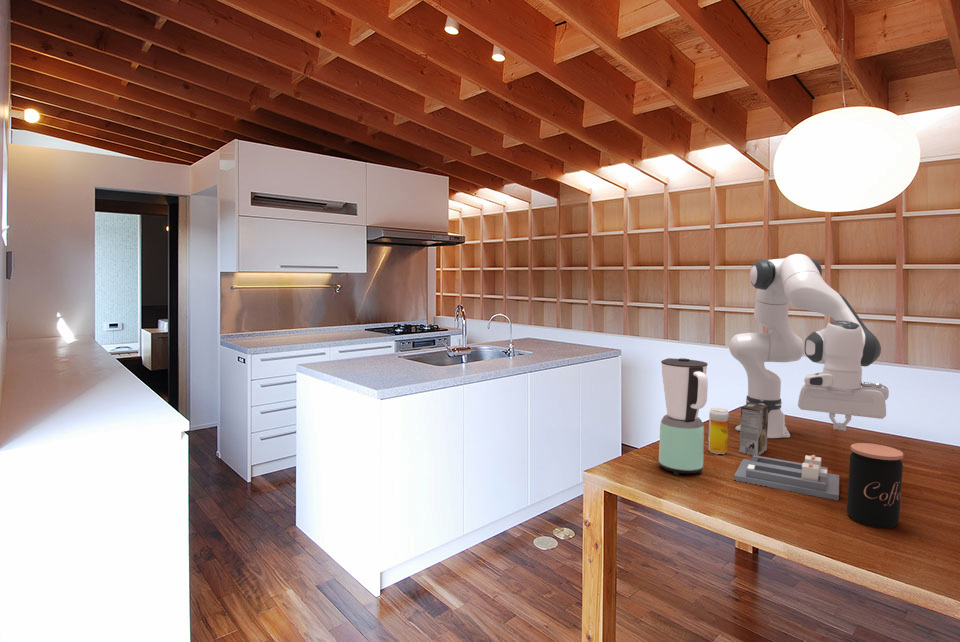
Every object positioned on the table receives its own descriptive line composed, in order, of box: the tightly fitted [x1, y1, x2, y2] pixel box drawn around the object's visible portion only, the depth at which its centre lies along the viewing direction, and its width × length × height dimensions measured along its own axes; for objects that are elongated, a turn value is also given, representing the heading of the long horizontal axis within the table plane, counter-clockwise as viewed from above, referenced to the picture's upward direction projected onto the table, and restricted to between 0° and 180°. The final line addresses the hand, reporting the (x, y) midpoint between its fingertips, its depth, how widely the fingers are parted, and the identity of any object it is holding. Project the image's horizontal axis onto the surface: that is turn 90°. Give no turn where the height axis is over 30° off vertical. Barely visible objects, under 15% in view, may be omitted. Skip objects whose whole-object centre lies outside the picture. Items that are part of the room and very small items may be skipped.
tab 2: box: [801, 462, 819, 481], centre depth 154 cm, size 4×4×6 cm
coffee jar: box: [846, 442, 904, 529], centre depth 135 cm, size 11×11×18 cm
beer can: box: [707, 407, 730, 455], centre depth 186 cm, size 6×6×15 cm
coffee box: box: [739, 403, 768, 456], centre depth 187 cm, size 9×6×16 cm
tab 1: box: [804, 454, 822, 473], centre depth 161 cm, size 4×4×6 cm
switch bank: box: [733, 455, 840, 501], centre depth 161 cm, size 18×26×4 cm
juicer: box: [658, 357, 709, 476], centre depth 168 cm, size 19×13×35 cm
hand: (839, 429), depth 149 cm, fingers closed
